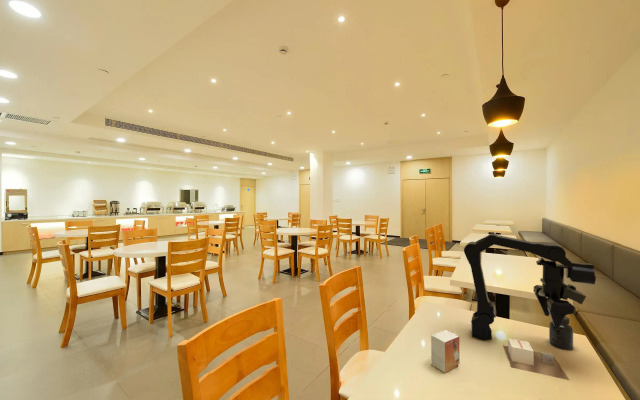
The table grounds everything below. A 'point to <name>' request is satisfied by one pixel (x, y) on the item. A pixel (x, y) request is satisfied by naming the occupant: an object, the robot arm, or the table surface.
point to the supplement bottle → (561, 335)
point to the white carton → (520, 351)
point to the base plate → (538, 366)
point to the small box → (445, 350)
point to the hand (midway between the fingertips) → (551, 321)
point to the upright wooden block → (547, 358)
